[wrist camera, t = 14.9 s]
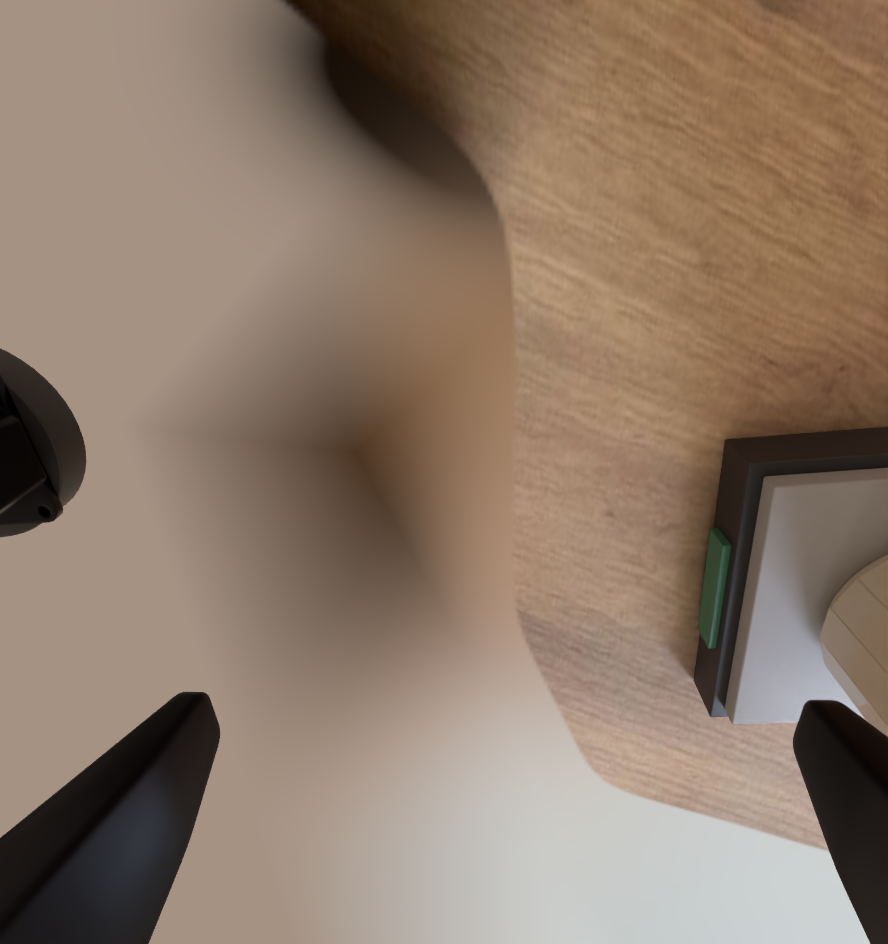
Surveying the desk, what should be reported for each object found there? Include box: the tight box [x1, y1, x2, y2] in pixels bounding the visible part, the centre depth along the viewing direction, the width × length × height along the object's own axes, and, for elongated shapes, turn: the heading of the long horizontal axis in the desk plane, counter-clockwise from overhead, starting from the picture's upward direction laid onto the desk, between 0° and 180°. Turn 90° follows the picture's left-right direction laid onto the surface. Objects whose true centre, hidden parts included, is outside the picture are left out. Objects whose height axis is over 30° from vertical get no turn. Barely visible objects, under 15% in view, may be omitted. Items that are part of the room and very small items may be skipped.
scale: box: [694, 427, 888, 724], centre depth 21 cm, size 12×12×3 cm
